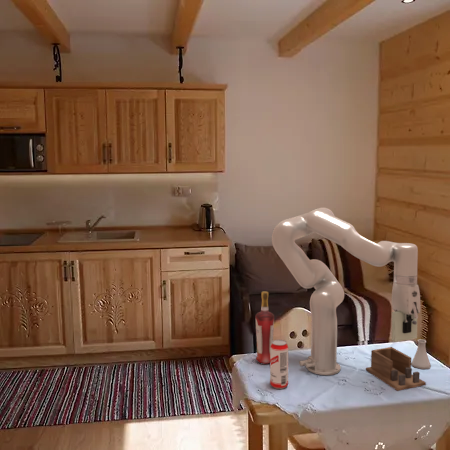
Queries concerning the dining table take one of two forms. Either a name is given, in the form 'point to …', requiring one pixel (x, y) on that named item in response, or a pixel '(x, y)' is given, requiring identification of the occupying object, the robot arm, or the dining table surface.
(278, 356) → the beer can
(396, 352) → the cabinet
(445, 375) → the dining table surface
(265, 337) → the liquor
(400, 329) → the block
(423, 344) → the flask
